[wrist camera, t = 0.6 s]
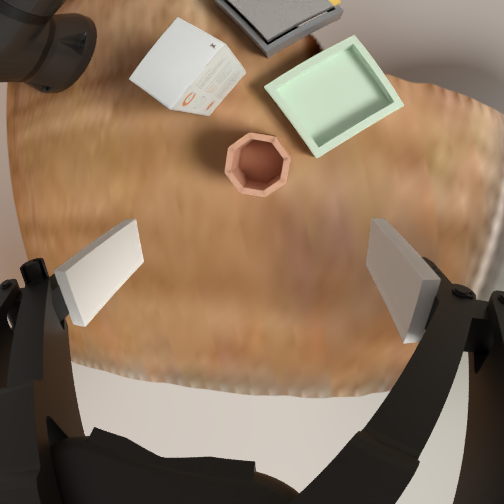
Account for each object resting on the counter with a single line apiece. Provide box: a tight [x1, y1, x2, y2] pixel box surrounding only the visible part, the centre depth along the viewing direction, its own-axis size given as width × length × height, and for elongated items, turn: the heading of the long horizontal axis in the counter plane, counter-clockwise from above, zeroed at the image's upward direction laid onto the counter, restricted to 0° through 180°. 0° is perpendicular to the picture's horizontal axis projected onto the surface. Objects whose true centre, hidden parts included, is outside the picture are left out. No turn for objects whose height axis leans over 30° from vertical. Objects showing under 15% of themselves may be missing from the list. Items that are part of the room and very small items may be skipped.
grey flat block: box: [214, 0, 343, 58], centre depth 25 cm, size 12×12×4 cm
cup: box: [225, 132, 291, 197], centre depth 33 cm, size 7×7×6 cm
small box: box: [129, 17, 246, 116], centre depth 27 cm, size 8×6×13 cm
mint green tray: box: [264, 35, 404, 159], centre depth 30 cm, size 11×14×2 cm
